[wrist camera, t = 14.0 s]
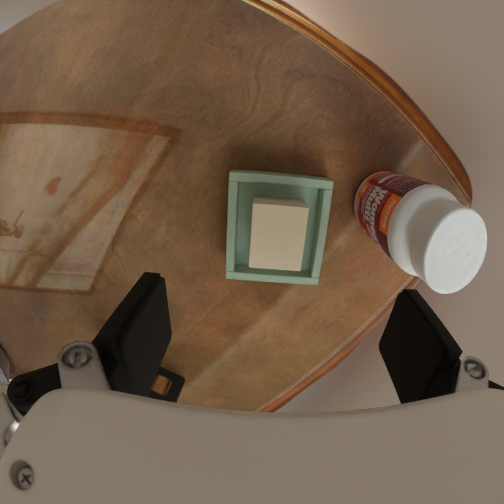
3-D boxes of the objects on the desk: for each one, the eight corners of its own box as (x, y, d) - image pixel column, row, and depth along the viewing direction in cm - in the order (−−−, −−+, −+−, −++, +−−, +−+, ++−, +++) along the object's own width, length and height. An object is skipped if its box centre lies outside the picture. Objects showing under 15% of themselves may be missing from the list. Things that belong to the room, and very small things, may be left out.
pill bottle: (347, 175, 21) (414, 206, 11) (408, 166, 20) (494, 191, 10) (356, 243, 23) (412, 314, 13) (413, 230, 22) (486, 286, 12)
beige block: (254, 195, 22) (252, 202, 19) (303, 199, 22) (309, 207, 19) (250, 252, 24) (248, 267, 21) (296, 256, 23) (300, 271, 21)
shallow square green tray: (232, 169, 21) (229, 171, 20) (328, 177, 21) (333, 181, 19) (228, 267, 25) (225, 278, 23) (313, 274, 25) (317, 285, 23)
